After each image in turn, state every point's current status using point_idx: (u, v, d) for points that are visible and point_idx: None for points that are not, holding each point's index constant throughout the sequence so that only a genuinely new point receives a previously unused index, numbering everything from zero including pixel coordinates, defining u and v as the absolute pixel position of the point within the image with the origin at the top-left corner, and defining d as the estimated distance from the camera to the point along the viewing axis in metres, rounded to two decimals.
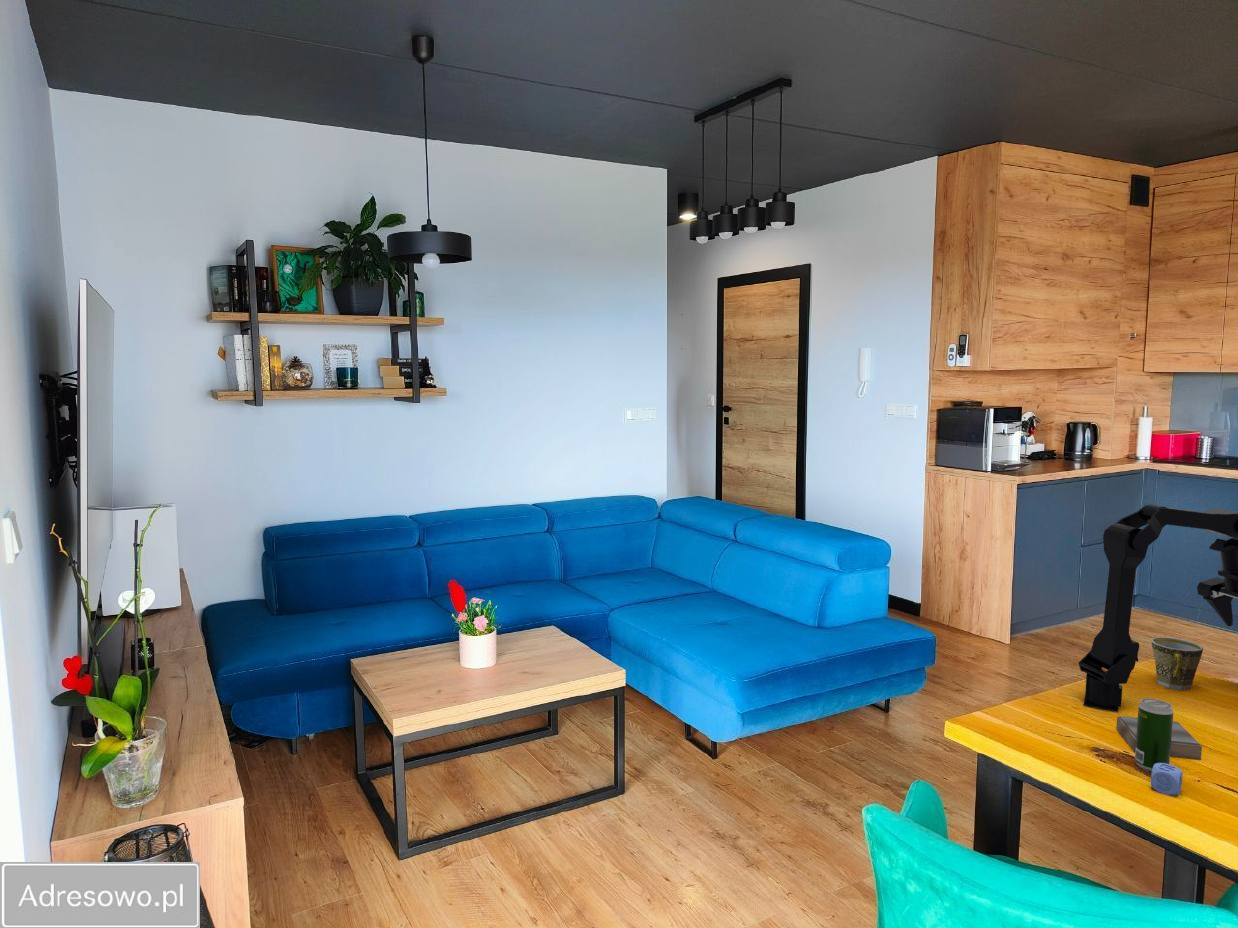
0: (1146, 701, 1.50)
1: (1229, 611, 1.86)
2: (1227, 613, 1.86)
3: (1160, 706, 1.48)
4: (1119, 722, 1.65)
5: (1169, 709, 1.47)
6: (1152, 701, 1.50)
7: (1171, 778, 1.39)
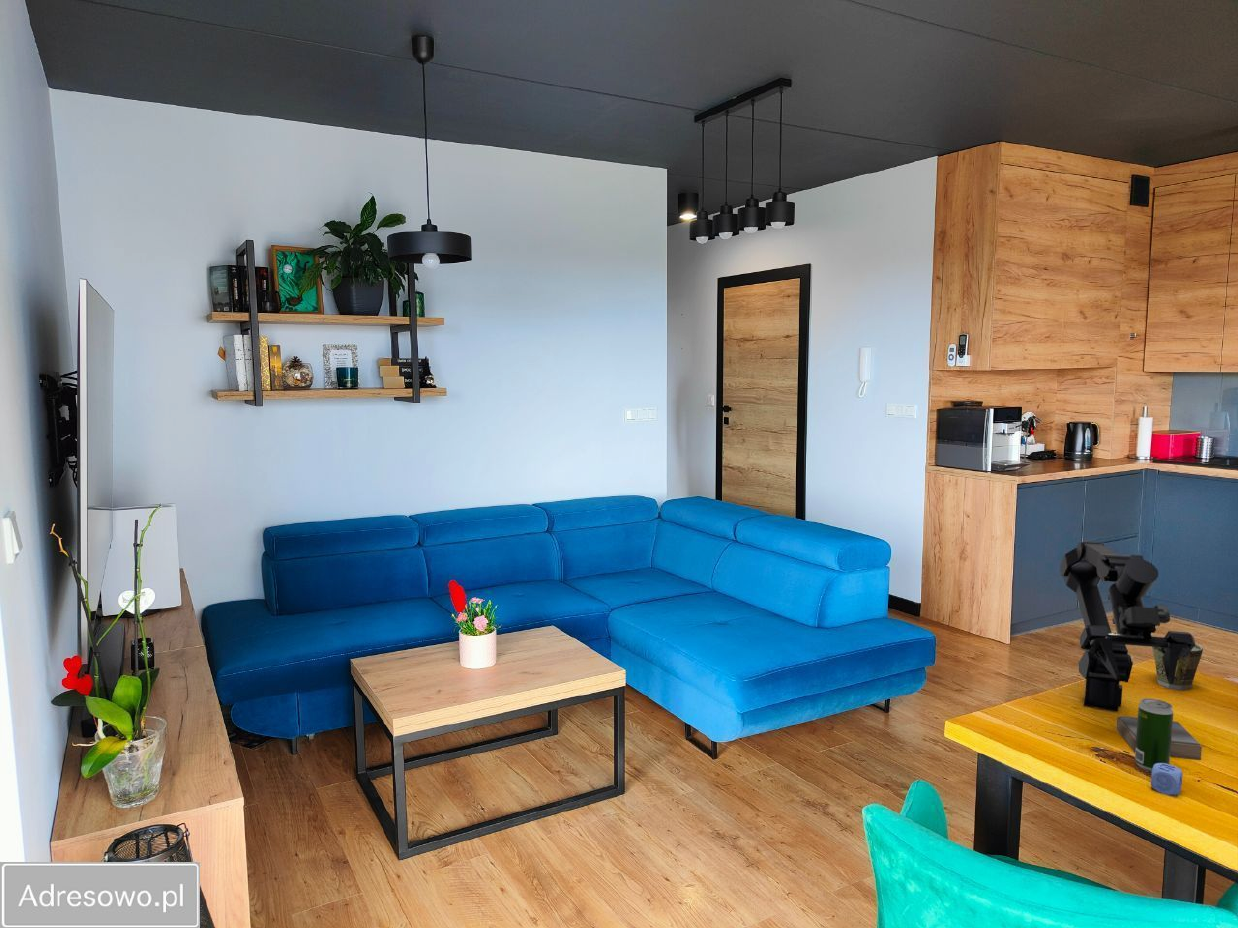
0: (1146, 701, 1.50)
1: (1168, 666, 1.57)
2: (1167, 669, 1.57)
3: (1160, 706, 1.48)
4: (1119, 722, 1.65)
5: (1169, 709, 1.47)
6: (1152, 701, 1.50)
7: (1171, 778, 1.39)
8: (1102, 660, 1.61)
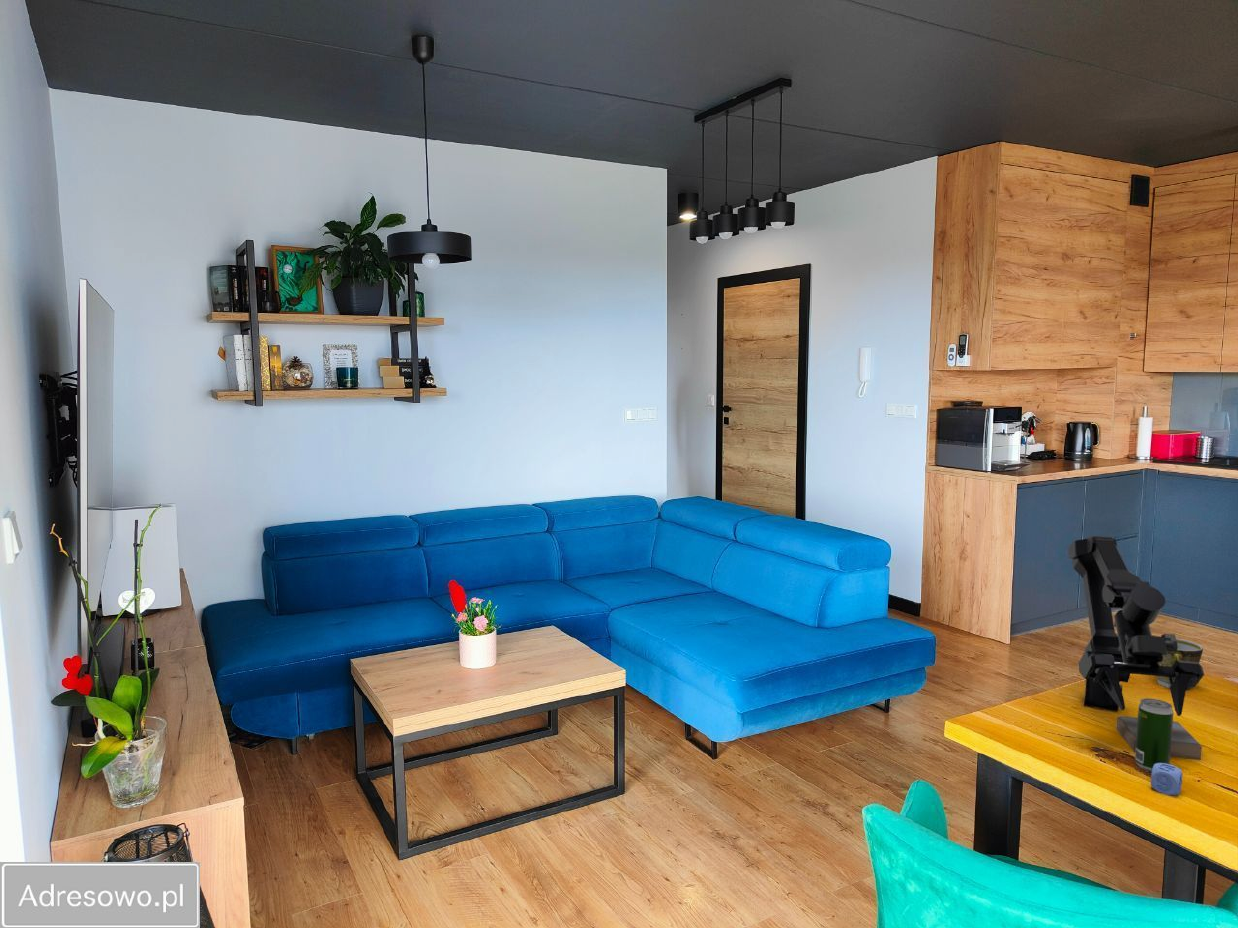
0: (1146, 701, 1.50)
1: (1176, 697, 1.52)
2: (1175, 700, 1.52)
3: (1160, 706, 1.48)
4: (1119, 722, 1.65)
5: (1169, 709, 1.47)
6: (1152, 701, 1.50)
7: (1171, 778, 1.39)
8: (1107, 689, 1.57)
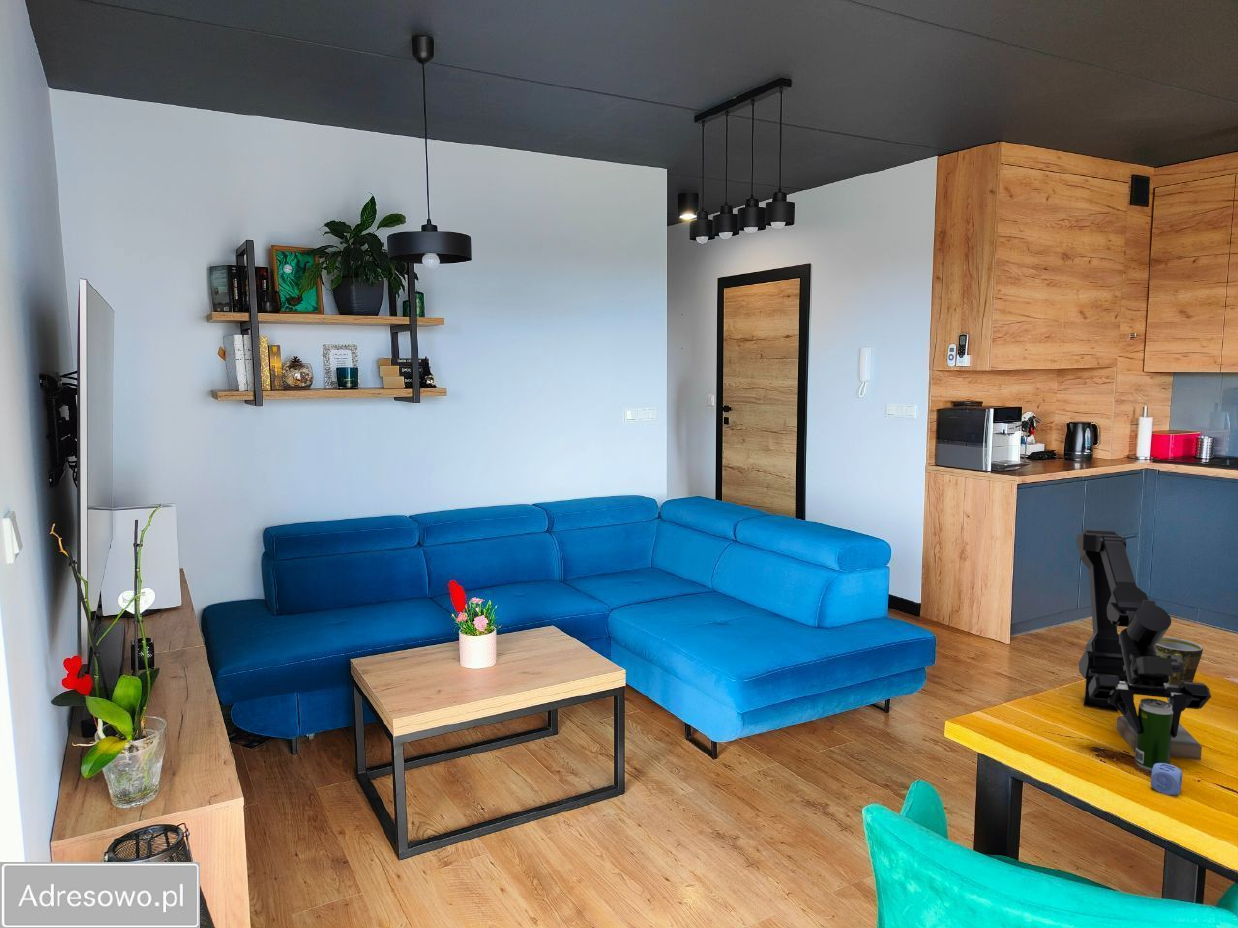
0: (1146, 701, 1.50)
1: None
2: None
3: (1160, 706, 1.48)
4: (1119, 722, 1.65)
5: (1169, 709, 1.47)
6: (1152, 701, 1.50)
7: (1171, 778, 1.39)
8: (1123, 712, 1.53)
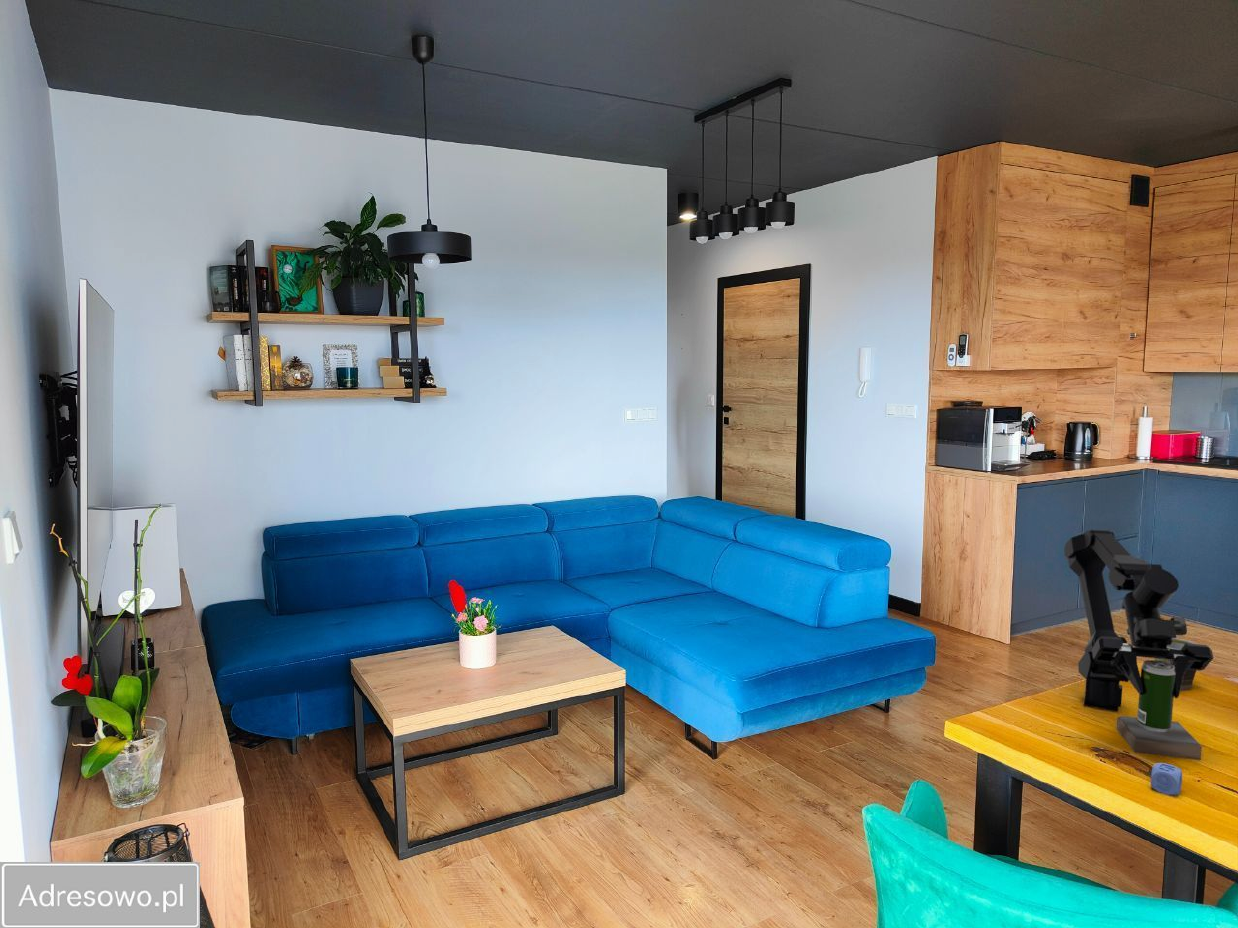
0: (1149, 663, 1.52)
1: None
2: None
3: (1163, 667, 1.50)
4: (1119, 722, 1.65)
5: (1171, 670, 1.49)
6: (1155, 663, 1.52)
7: (1171, 778, 1.39)
8: (1126, 674, 1.56)
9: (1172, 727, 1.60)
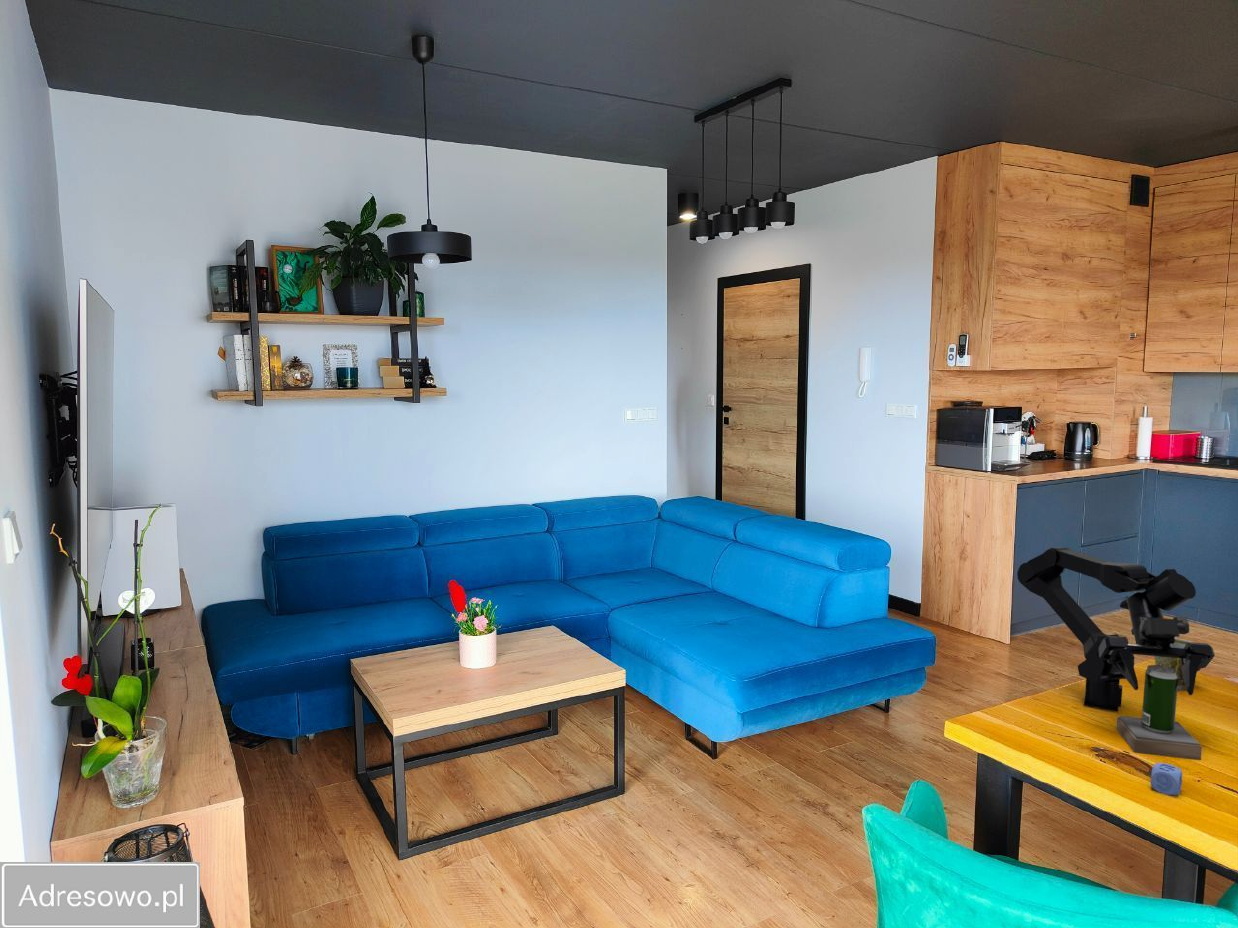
0: (1153, 667, 1.59)
1: (1188, 677, 1.58)
2: (1187, 680, 1.58)
3: (1166, 671, 1.57)
4: (1119, 722, 1.65)
5: (1174, 674, 1.56)
6: (1158, 667, 1.60)
7: (1171, 778, 1.39)
8: (1121, 670, 1.63)
9: None
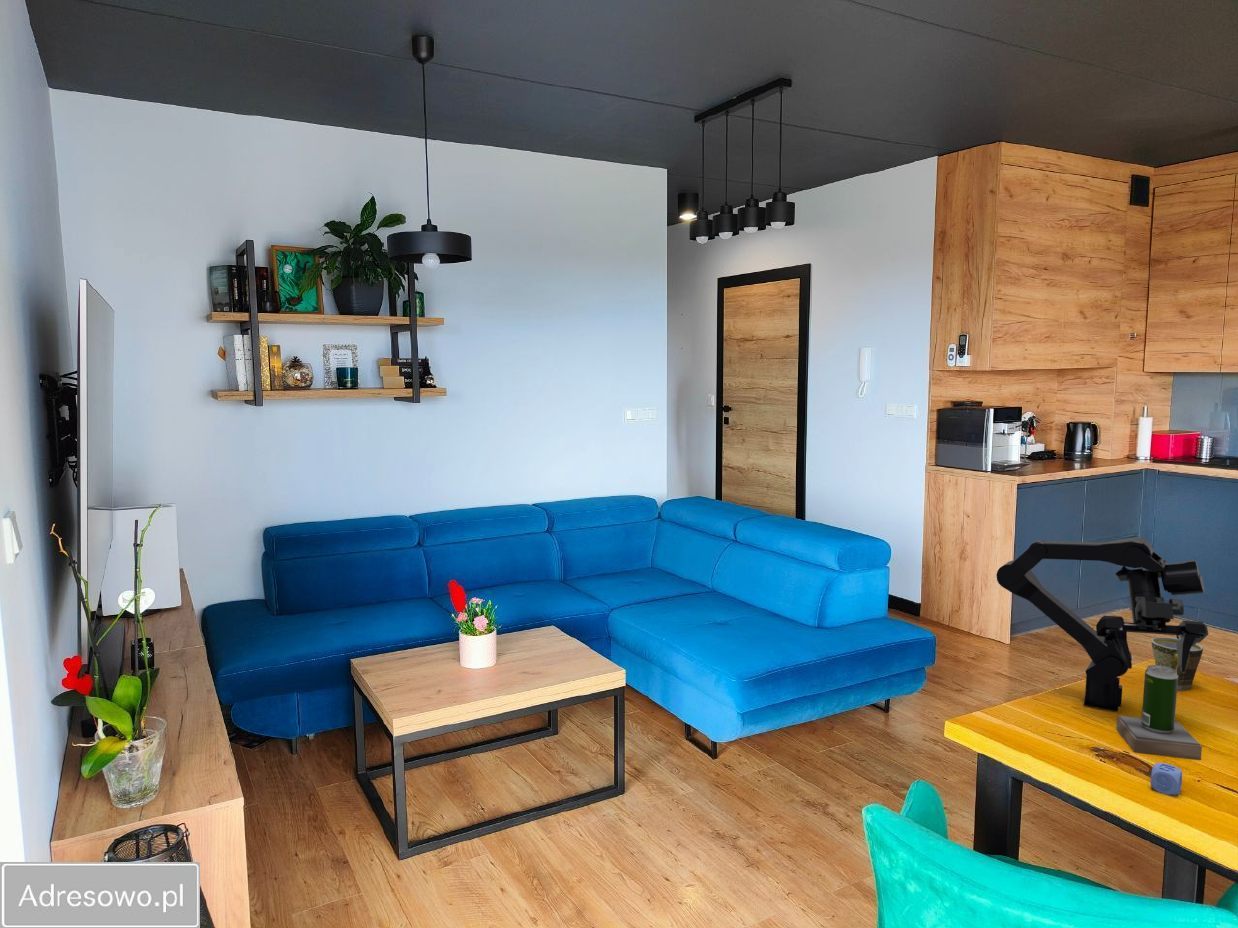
0: (1152, 667, 1.59)
1: (1181, 655, 1.64)
2: (1180, 657, 1.64)
3: (1165, 671, 1.57)
4: (1119, 722, 1.65)
5: (1174, 674, 1.56)
6: (1158, 667, 1.60)
7: (1171, 778, 1.39)
8: (1117, 648, 1.69)
9: None
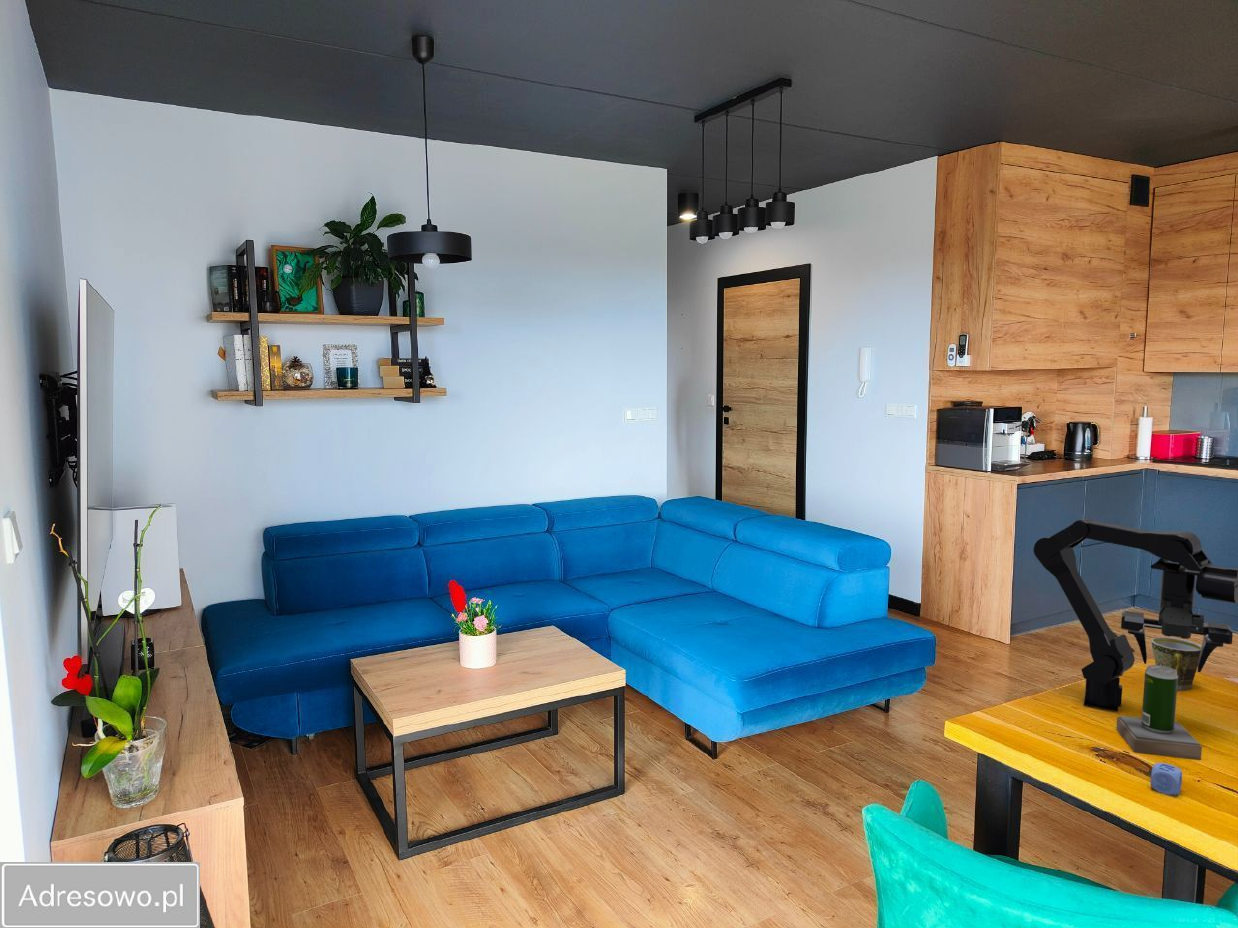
0: (1152, 667, 1.59)
1: (1200, 656, 1.65)
2: (1200, 657, 1.66)
3: (1165, 671, 1.57)
4: (1119, 722, 1.65)
5: (1174, 674, 1.56)
6: (1158, 667, 1.60)
7: (1171, 778, 1.39)
8: None
9: None
